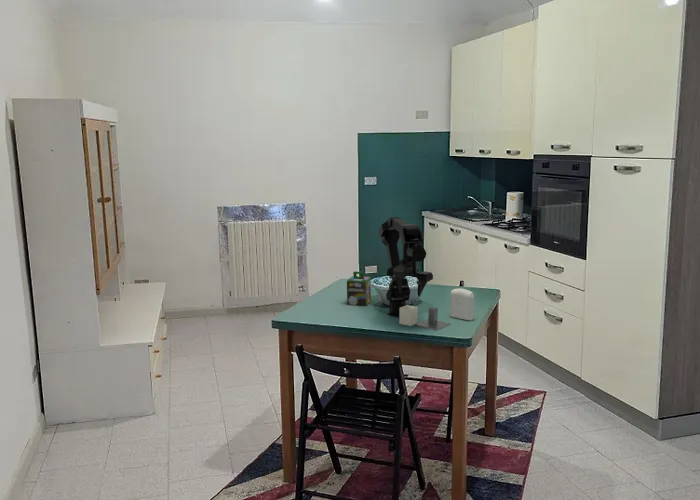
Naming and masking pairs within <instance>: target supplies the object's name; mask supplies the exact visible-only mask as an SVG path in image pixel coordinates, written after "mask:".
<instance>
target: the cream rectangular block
mask: <svg viewBox="0 0 700 500" xmlns="http://www.w3.org/2000/svg"><path fill="white" fill-rule="evenodd" d="M418 309H419V308H418V307H417V306H414V305H408V304H406V306H403V307H400V314H399V317H398V318H399V324H400V325H404V326H409V327H411V326H415V324H418V311H419V310H418Z"/></svg>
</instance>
